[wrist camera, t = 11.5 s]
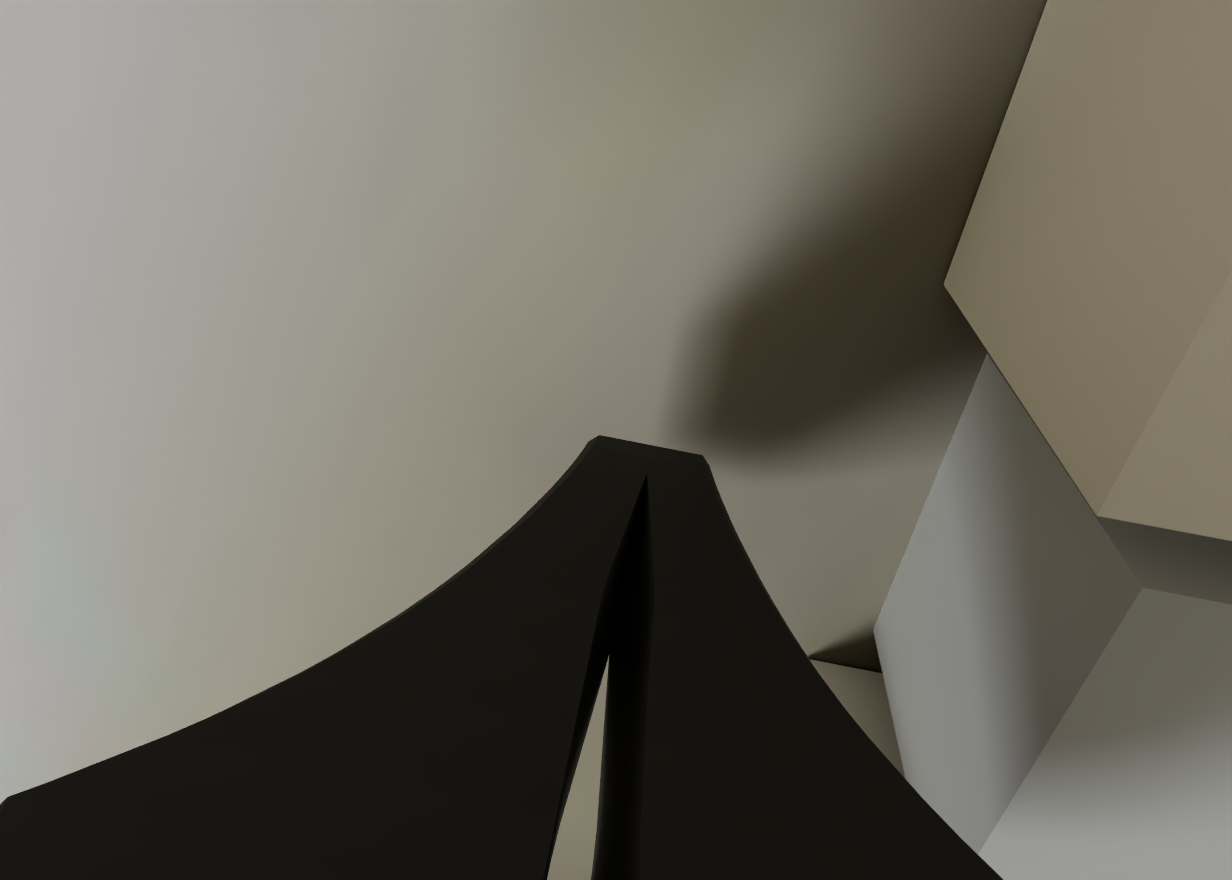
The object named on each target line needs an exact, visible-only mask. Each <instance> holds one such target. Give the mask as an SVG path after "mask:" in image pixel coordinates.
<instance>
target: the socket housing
mask: <svg viewBox="0 0 1232 880" xmlns="http://www.w3.org/2000/svg"><path fill="white" fill-rule="evenodd" d="M943 285H944V286H945V288H946V289H947V291H948V292H949V294H950V295H951V297H952V298H953V300H954V301H955V303H956V304H957V306H958V307H959V309H960V310H961V312H962V313H963V315H964V316H965V318H966V319H967V321H968V322H969V324H970V325H971V327H972V328H973V330H974V331H975V333H976V334H977V336H978V337H979V339H980V340H981V342H982V343H983V345H984V346H985V348H986V349H987V351H988V352H989V354H990V355H991V357H992V358H993V360H994V361H995V363H996V364H997V366H998V368H999V369H1000V371H1001V372H1002V374H1003V375H1004V377H1005V378H1006V380H1007V381H1008V383H1009V384H1010V386H1011V387H1012V389H1013V390H1014V392H1015V393H1016V395H1017V396H1018V398H1019V399H1020V401H1021V402H1022V404H1023V405H1024V407H1025V408H1026V410H1027V411H1028V413H1029V414H1030V416H1031V417H1032V419H1033V420H1034V422H1035V423H1036V425H1037V426H1038V428H1039V429H1040V431H1041V432H1042V434H1043V435H1044V437H1045V438H1046V440H1047V441H1048V443H1049V444H1050V446H1051V448H1052V449H1053V451H1054V452H1055V454H1056V455H1057V457H1058V458H1059V460H1060V461H1061V463H1062V464H1063V466H1064V467H1065V469H1066V470H1067V472H1068V473H1069V475H1070V476H1071V478H1072V479H1073V481H1074V482H1075V484H1076V485H1077V487H1078V488H1079V490H1080V491H1081V493H1082V494H1083V496H1084V497H1085V499H1086V500H1087V502H1088V503H1089V505H1090V506H1091V508H1092V509H1093V511H1094V512H1095V514H1096V515H1097V516H1101V517H1106V518H1111V519H1117V520H1122V521H1127V522H1133V523H1138V524H1143V525H1149V526H1154V527H1159V528H1165V529H1170V530H1176V531H1181V532H1186V533H1192V534H1197V535H1202V536H1208V537H1213V538H1218V539H1224V540H1229V541H1232V0H1047V3H1046V6H1045V8H1044V11H1043V14H1042V16H1041V19H1040V22H1039V25H1038V27H1037V30H1036V33H1035V36H1034V38H1033V41H1032V44H1031V47H1030V49H1029V52H1028V55H1027V57H1026V60H1025V63H1024V66H1023V68H1022V71H1021V74H1020V77H1019V79H1018V82H1017V85H1016V88H1015V90H1014V93H1013V96H1012V98H1011V101H1010V104H1009V107H1008V109H1007V112H1006V115H1005V118H1004V120H1003V123H1002V126H1001V128H1000V131H999V134H998V137H997V139H996V142H995V145H994V148H993V150H992V153H991V156H990V159H989V161H988V164H987V167H986V169H985V172H984V175H983V178H982V180H981V183H980V186H979V189H978V191H977V194H976V197H975V200H974V202H973V205H972V208H971V210H970V213H969V216H968V219H967V221H966V224H965V227H964V230H963V232H962V235H961V238H960V241H959V243H958V246H957V249H956V251H955V254H954V257H953V260H952V262H951V265H950V268H949V271H948V273H947V276H946V279H945V282H944V284H943ZM809 660H810V659H809ZM810 661H811V663H812V664H813V665H814V667H815V668H816V670H817V671H818V673H819V674H820V675H821V677H822V678H823V680H824V681H825V682H826V684H827V685H828V686H829V688H830V689H831V690H832V692H833V693H834V694H835V696H836V697H837V698H838V700H839V701H840V702H841V704H842V705H843V706H844V708H845V709H846V710H847V711H848V713H849V714H850V715H851V716H852V718H853V719H854V720H855V721H856V722H857V724H858V725H859V726H860V727H861V729H862V730H863V731H864V732H865V733H866V735H867V736H868V737H869V738H870V739H871V741H872V742H873V743H874V744H875V745H876V746H877V747H878V748H879V750H880V751H881V752H882V753H883V754H884V755H885V756H886V757H887V759H888V760H889V761H890V762H891V763H892V764H893V765H894V767H895V768H896V769H897V770H898V771H899V772H900V773H901V774H902V776H903V777H904V778H905V774H904V770H903V765H902V761H901V756H900V751H899V747H898V742H897V738H896V733H895V728H894V724H893V719H892V714H891V710H890V705H889V701H888V696H887V691H886V687H885V682H884V678H883V673H877V672H872V671H867V670H862V669H857V668H852V667H847V666H841V665H836V664H831V663H826V662H821V661H816V660H810Z"/></svg>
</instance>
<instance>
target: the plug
mask: <svg viewBox="0 0 1232 880" xmlns="http://www.w3.org/2000/svg"><path fill="white" fill-rule="evenodd" d="M873 632H874V636H875V641H876V645H877V650H878V655H879V659H880V664H881V668H882V673H883V678H884V682H885V687H886V691H887V696H888V701H889V705H890V710H891V714H892V719H893V724H894V728H895V733H896V738H897V742H898V747H899V751H900V756H901V761H902V765H903V770H904V774H905V779H906V780H907V781H908V782H909V783H910V785H911V786H912V787H913V788H914V789H915V790H916V791H917V792H918V794H919V795H920V796H921V797H922V798H923V799H924V800H925V801H926V802H927V803H928V804H929V805H930V806H931V807H932V808H933V810H934V811H935V812H936V813H937V814H938V815H939V816H940V817H941V818H942V819H943V820H944V821H945V822H946V823H947V824H948V825H949V826H950V827H951V828H952V829H953V830H954V831H955V832H956V833H957V835H958V836H959V837H960V838H961V839H962V840H963V841H964V842H966V843H967V844H968V845H969V846H970V847H971V848H972V849H973V850H974V851H975V852H976V853H977V854H978V855H979V856H980V857H981V858H982V859H983V860H984V861H985V862H986V863H987V864H988V865H989V866H990V867H991V868H992V869H993V870H994V871H995V872H996V873H997V874H998V875H999V876H1000V877H1001V878H1002V879H1003V880H1232V541H1229V540H1224V539H1218V538H1213V537H1208V536H1202V535H1197V534H1192V533H1186V532H1181V531H1176V530H1170V529H1165V528H1159V527H1154V526H1149V525H1143V524H1138V523H1133V522H1127V521H1122V520H1117V519H1111V518H1106V517H1101V516H1097V515H1096V514H1095V512H1094V511H1093V509H1092V508H1091V506H1090V505H1089V503H1088V502H1087V500H1086V499H1085V497H1084V496H1083V494H1082V493H1081V491H1080V490H1079V488H1078V487H1077V485H1076V484H1075V482H1074V481H1073V479H1072V478H1071V476H1070V475H1069V473H1068V472H1067V470H1066V469H1065V467H1064V466H1063V464H1062V463H1061V461H1060V460H1059V458H1058V457H1057V455H1056V454H1055V452H1054V451H1053V449H1052V448H1051V446H1050V444H1049V443H1048V441H1047V440H1046V438H1045V437H1044V435H1043V434H1042V432H1041V431H1040V429H1039V428H1038V426H1037V425H1036V423H1035V422H1034V420H1033V419H1032V417H1031V416H1030V414H1029V413H1028V411H1027V410H1026V408H1025V407H1024V405H1023V404H1022V402H1021V401H1020V399H1019V398H1018V396H1017V395H1016V393H1015V392H1014V390H1013V389H1012V387H1011V386H1010V384H1009V383H1008V381H1007V380H1006V378H1005V377H1004V375H1003V374H1002V372H1001V371H1000V369H999V368H998V366H997V364H996V363H995V361H994V360H993V358H992V357H991V355H990V354H988V353H987V355H986V357H985V360H984V362H983V364H982V367H981V369H980V372H979V374H978V377H977V379H976V381H975V384H974V386H973V389H972V391H971V393H970V396H969V398H968V401H967V403H966V406H965V408H964V410H963V413H962V415H961V418H960V420H959V423H958V425H957V427H956V430H955V432H954V435H953V437H952V440H951V442H950V444H949V447H948V449H947V452H946V454H945V456H944V459H943V461H942V464H941V466H940V469H939V471H938V473H937V476H936V478H935V481H934V483H933V486H932V488H931V490H930V493H929V495H928V498H927V500H926V503H925V505H924V507H923V510H922V512H921V515H920V517H919V519H918V522H917V524H916V527H915V529H914V532H913V534H912V536H911V539H910V541H909V544H908V546H907V549H906V551H905V553H904V556H903V558H902V561H901V563H900V566H899V568H898V570H897V573H896V575H895V578H894V580H893V583H892V585H891V587H890V590H889V592H888V595H887V597H886V599H885V602H884V604H883V607H882V609H881V612H880V614H879V616H878V619H877V621H876V624H875V626H874V629H873Z"/></svg>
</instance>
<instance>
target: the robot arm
mask: <svg viewBox="0 0 1232 880" xmlns="http://www.w3.org/2000/svg"><path fill="white" fill-rule="evenodd" d="M608 656H609V666H608V679H607V693H606V707H605V721H604V735H603V749H602V763H601V778H600V792H599V806H598V820H597V833H596V842H595V851H594V860H593V869H592V876H591V880H1003V879H1002V878H1001V877H1000V876H999V875H998V874H997V873H996V872H995V871H994V870H993V869H992V868H991V867H990V866H989V865H988V864H987V863H986V862H985V861H984V860H983V859H982V858H981V857H980V856H979V855H978V854H977V853H976V852H975V851H974V850H973V849H972V848H971V847H970V846H969V845H968V844H967V843H966V842H964V841H963V840H962V839H961V838H960V837H959V836H958V835H957V833H956V832H955V831H954V830H953V829H952V828H951V827H950V826H949V825H948V824H947V823H946V822H945V821H944V820H943V819H942V818H941V817H940V816H939V815H938V814H937V813H936V812H935V811H934V810H933V808H932V807H931V806H930V805H929V804H928V803H927V802H926V801H925V800H924V799H923V798H922V797H921V796H920V795H919V794H918V792H917V791H916V790H915V789H914V788H913V787H912V786H911V785H910V783H909V782H908V781H907V780H906V779H905V778H904V777H903V776H902V774H901V773H900V772H899V771H898V770H897V769H896V768H895V767H894V765H893V764H892V763H891V762H890V761H889V760H888V759H887V757H886V756H885V755H884V754H883V753H882V752H881V751H880V750H879V748H878V747H877V746H876V745H875V744H874V743H873V742H872V741H871V739H870V738H869V737H868V736H867V735H866V733H865V732H864V731H863V730H862V729H861V727H860V726H859V725H858V724H857V722H856V721H855V720H854V719H853V718H852V716H851V715H850V714H849V713H848V711H847V710H846V709H845V708H844V706H843V705H842V704H841V702H840V701H839V700H838V698H837V697H836V696H835V694H834V693H833V692H832V690H831V689H830V688H829V686H828V685H827V684H826V682H825V681H824V680H823V678H822V677H821V675H820V674H819V673H818V671H817V670H816V668H815V667H814V665H813V664H812V663H811V661H810V660H809V658H808V657H807V655H806V654H805V652H804V651H803V649H802V648H801V646H800V645H799V643H798V642H797V640H796V639H795V637H794V635H793V634H792V632H791V631H790V629H789V627H788V626H787V624H786V622H785V621H784V619H783V618H782V616H781V614H780V613H779V611H778V609H777V608H776V606H775V604H774V603H773V601H772V599H771V598H770V596H769V594H768V592H767V591H766V589H765V587H764V585H763V583H762V582H761V580H760V578H759V576H758V574H757V572H756V570H755V568H754V566H753V564H752V563H751V561H750V559H749V557H748V555H747V553H746V551H745V549H744V547H743V545H742V543H741V541H740V539H739V537H738V535H737V533H736V531H735V529H734V527H733V524H732V522H731V520H730V518H729V515H728V513H727V511H726V508H725V506H724V504H723V501H722V499H721V497H720V494H719V492H718V489H717V486H716V484H715V481H714V478H713V475H712V472H711V469H710V466H709V464H708V463H707V461H706V460H705V458H704V457H703V455H698V454H693V453H688V452H683V451H678V450H673V449H667V448H662V447H657V446H652V445H651V446H650V445H647V444H642V443H637V442H632V441H626V440H621V439H616V438H611V437H606V436H601V435H599V436H597V437H595V438H594V439H592V440H590V441H589V442H588V443H587V445H586V446H585V448H584V449H583V451H582V452H581V453H580V455H579V456H578V457H577V459H576V460H575V461H574V463H573V464H572V465H571V466H570V467H569V469H568V470H567V471H566V472H565V473H564V474H563V475H562V477H561V478H560V479H559V480H558V481H557V482H556V483H555V484H554V485H553V487H552V488H551V489H550V490H549V491H548V492H547V493H546V494H545V495H544V496H543V497H542V498H541V499H540V500H539V501H538V502H537V503H536V504H535V505H534V506H533V507H532V508H531V509H530V510H529V511H528V512H527V513H526V514H525V515H524V516H523V517H522V518H521V519H520V520H519V521H518V522H517V523H516V524H514V525H513V526H512V527H511V528H510V529H509V530H508V531H507V532H505V533H504V534H503V535H502V536H501V537H500V538H498V539H497V540H496V541H495V542H494V543H493V544H491V545H490V546H489V547H488V548H487V549H486V550H484V551H483V552H482V553H481V554H480V555H479V556H477V557H476V558H475V559H474V560H473V561H472V562H470V563H469V564H468V565H467V566H465V567H464V568H463V569H462V570H460V571H459V572H458V573H456V574H455V575H454V576H452V577H451V578H450V579H449V580H447V581H446V582H445V583H443V584H442V585H440V586H439V587H438V588H436V589H435V590H434V591H432V592H431V593H429V594H428V595H427V596H425V597H424V598H422V599H421V600H419V601H418V602H416V603H415V604H414V605H412V606H411V607H409V608H408V609H406V610H405V611H403V612H402V613H400V614H399V615H397V616H396V617H394V618H393V619H391V620H389V621H388V622H386V623H385V624H383V625H381V626H380V627H378V628H376V629H375V630H373V631H371V632H370V633H368V634H367V635H365V636H363V637H362V638H360V639H358V640H357V641H355V642H354V643H352V644H350V645H349V646H347V647H345V648H344V649H342V650H340V651H339V652H337V653H335V654H333V655H332V656H330V657H328V658H326V659H324V660H323V661H321V662H319V663H317V664H315V665H314V666H312V667H310V668H308V669H306V670H304V671H303V672H301V673H299V674H297V675H295V676H293V677H291V678H289V679H287V680H284V681H282V682H280V683H278V684H276V685H274V686H272V687H270V688H268V689H266V690H264V691H262V692H260V693H258V694H256V695H254V696H252V697H250V698H248V699H246V700H244V701H242V702H240V703H238V704H236V705H234V706H232V707H230V708H228V709H226V710H224V711H222V712H219V713H217V714H215V715H213V716H211V717H209V718H207V719H204V720H202V721H200V722H197V723H195V724H193V725H190V726H188V727H186V728H184V729H181V730H179V731H177V732H174V733H172V734H170V735H167V736H165V737H162V738H160V739H157V740H155V741H152V742H150V743H147V744H144V745H142V746H139V747H137V748H134V749H132V750H129V751H127V752H124V753H122V754H119V755H116V756H114V757H111V758H109V759H106V760H104V761H101V762H99V763H96V764H94V765H91V766H88V767H86V768H83V769H81V770H78V771H76V772H73V773H71V774H68V775H66V776H63V777H61V778H58V779H55V780H53V781H50V782H48V783H45V784H42V785H40V786H37V787H34V788H31V789H29V790H26V791H23V792H20V793H17V794H15V795H12V796H9V797H7V798H6V799H5V800H4V801H3V802H2V803H1V804H0V880H547V877H548V872H549V867H550V862H551V858H552V854H553V850H554V846H555V842H556V838H557V834H558V830H559V826H560V822H561V818H562V815H563V812H564V808H565V805H566V801H567V798H568V794H569V791H570V787H571V784H572V781H573V777H574V774H575V770H576V767H577V763H578V760H579V756H580V753H581V750H582V746H583V743H584V739H585V736H586V732H587V729H588V726H589V722H590V719H591V715H592V712H593V708H594V705H595V701H596V698H597V694H598V691H599V688H600V684H601V681H602V677H603V674H604V670H605V667H606V663H607V660H608Z"/></svg>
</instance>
